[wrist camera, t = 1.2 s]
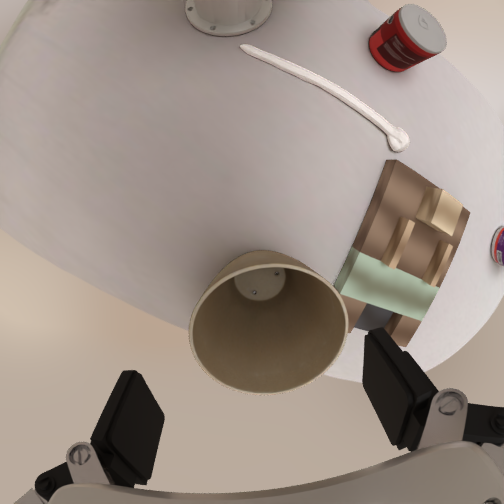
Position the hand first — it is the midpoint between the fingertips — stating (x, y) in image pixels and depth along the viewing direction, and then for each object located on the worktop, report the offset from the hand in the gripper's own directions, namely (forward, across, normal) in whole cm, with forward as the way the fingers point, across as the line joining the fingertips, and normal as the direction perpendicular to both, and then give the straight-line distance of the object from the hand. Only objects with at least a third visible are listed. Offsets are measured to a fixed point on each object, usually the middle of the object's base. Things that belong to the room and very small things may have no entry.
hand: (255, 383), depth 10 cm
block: (+26, -28, +1) cm, 38 cm away
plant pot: (+29, -1, +7) cm, 30 cm away
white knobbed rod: (+30, -15, -17) cm, 37 cm away
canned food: (+29, -27, -24) cm, 47 cm away
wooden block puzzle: (+29, -23, +9) cm, 38 cm away
